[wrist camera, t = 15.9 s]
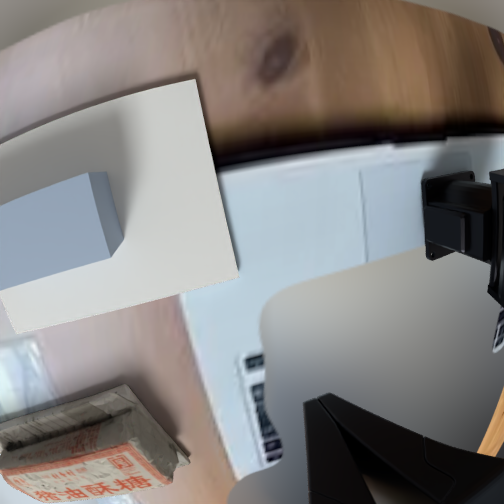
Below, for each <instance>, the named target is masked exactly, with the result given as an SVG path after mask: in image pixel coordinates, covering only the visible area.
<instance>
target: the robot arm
mask: <svg viewBox="0 0 504 504" xmlns="http://www.w3.org/2000/svg"><path fill="white" fill-rule="evenodd" d="M489 176H490V180H491V184H486V183H479V182H475V175H474V172H473V171H463V172H458V173H453V174H448V175H442V176H437V177H432V178H427V179H424V180H423V181H422V196H423V208H424V222H425V244H426V257H427V259H429V260H432V261H433V260H436V259H438V258H441V257H443V256H446V255H448V254H450V253H453V252H455V251H456V252H459V253H462V254H464V255H467V256H470V257H472V258H475V259H477V260H480V261H483V262H485V263H488V264H490V265H491V271H490V282H489V285H488V291H487V292H488V293H489V294H490V295H491V296H492V297H493V298H494V299H495V300H496V301H497V302H498V303H499V304H500V305H501V306H502V307H503V308H504V169H501V170H496V171H491V172H489ZM427 184H428V187H427ZM431 254H432V255H431ZM303 412H304V425H305V441H306V455H307V473H308V491H309V493H308V496H309V504H504V459H503V458H498V457H493V456H488V455H484V454H479V453H475V452H470V451H466V450H462V449H459V448H455V447H452V446H449V445H446V444H443V443H441V442H438V441H435V440H432V439H430V438H428V437H424V438H423V435H420V434H418V433H416V432H413V431H411V430H409V429H407V428H404V427H402V426H400V425H397V424H395V423H393V422H391V421H389V420H386V419H384V418H382V417H380V416H378V415H375V414H373V413H371V412H369V411H367V410H365V409H363V408H361V407H358V406H357V405H355V404H352V403H350V402H348V401H346V400H344V399H342V398H340V397H338V396H336V395H334V394H332V393H326V394H324V395H321V396H318V397H317V398H313V399H310V400H307V401H305V402H303Z"/></svg>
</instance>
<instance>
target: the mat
mask: <svg viewBox="0 0 504 504" xmlns="http://www.w3.org/2000/svg"><path fill="white" fill-rule="evenodd" d="M88 172H107V175H108V179H109V184H110V188H111V192H112V196H113V200H114V204H115V208H116V212H117V215H118V219H119V223H120V226H121V230H122V233H123V237H124V240H123V242H122V243H121V244H120V246H119V247H118V249H117V250H116V251H115V253H114V254H113V256H112V257H111V258H109V259H105V260H102V261H98V262H95V263H91V264H88V265H84V266H81V267H77V268H74V269H70V270H67V271H63V272H60V273H57V274H53V275H50V276H47V277H43V278H40V279H37V280H33V281H30V282H27V283H23V284H20V285H17V286H14V287H10V288H7V289H4V290H1V291H0V298H1V300H2V303H3V305H4V308H5V310H6V312H7V315H8V317H9V319H10V321H11V324H12V326H13V328H14V330H15V332H16V334H20V333H25V332H29V331H33V330H37V329H41V328H46V327H50V326H54V325H58V324H62V323H66V322H70V321H74V320H78V319H83V318H87V317H91V316H95V315H99V314H103V313H106V312H110V311H114V310H118V309H122V308H126V307H130V306H134V305H138V304H142V303H146V302H149V301H153V300H157V299H161V298H165V297H168V296H172V295H176V294H180V293H184V292H187V291H191V290H195V289H199V288H202V287H206V286H210V285H213V284H217V283H221V282H224V281H228V280H232V279H235V278H239V273H238V269H237V265H236V261H235V256H234V252H233V248H232V244H231V239H230V235H229V231H228V226H227V222H226V217H225V213H224V209H223V204H222V200H221V195H220V191H219V186H218V182H217V177H216V173H215V168H214V164H213V159H212V155H211V150H210V146H209V141H208V137H207V132H206V127H205V123H204V118H203V113H202V109H201V104H200V99H199V94H198V90H197V85H196V80H195V79H193V80H188V81H183V82H179V83H174V84H170V85H165V86H161V87H157V88H153V89H149V90H145V91H142V92H138V93H134V94H131V95H127V96H124V97H120V98H117V99H114V100H111V101H107V102H104V103H101V104H98V105H95V106H92V107H89V108H86V109H83V110H81V111H78V112H75V113H72V114H70V115H67V116H64V117H62V118H59V119H57V120H54V121H52V122H49V123H47V124H44V125H42V126H39V127H37V128H35V129H32V130H30V131H28V132H26V133H23V134H21V135H19V136H17V137H15V138H13V139H11V140H9V141H6V142H4V143H2V144H0V206H1V205H3V204H6V203H8V202H10V201H13V200H15V199H18V198H20V197H22V196H25V195H27V194H30V193H33V192H35V191H38V190H40V189H43V188H45V187H48V186H51V185H54V184H56V183H59V182H62V181H65V180H67V179H70V178H73V177H76V176H79V175H82V174H85V173H88Z"/></svg>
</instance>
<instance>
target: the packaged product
mask: <svg viewBox="0 0 504 504" xmlns="http://www.w3.org/2000/svg"><path fill="white" fill-rule="evenodd" d="M0 454H1V455H0V474H1V475H2V476H3V478H4V480H5V481H6V482H7V483H8V484H9V485H10V486H11V487H13V488H15V489H17V490H19V491H21V492H23V493H25V494H27V495H29V496H31V497H32V498H34V499H37V500H39V501H42V502H46V503H54V502H65V501H78V500H86V499H87V500H88V499H95V498H103V497H108V496H116V495H122V494H128V493H132V492H137V491H144V490H147V489H153V488H156V487H162V486H166V485H168V484H170V483H172V482H173V472H174V471H175V469H176V468H178V467H181V466H185V465H188V464H190V460H189V458H188V457H187V456H186V455H185V453H184V452H183V451H182V450H181V449H180V448H179V447H178V446H177V444H176V443H175V442H174V441H173V440H172V439H171V438H170V436H169V435H168V434H167V433H166V432H165V431H164V429H163V428H162V427H161V426H160V425H159V424H158V423H157V422H156V421H155V420H154V418H153V417H152V416H151V414H150V413H149V412H148V411H147V409H146V408H145V407H144V406H143V404H142V403H141V402H140V401H139V399H138V398H137V397H136V396H135V394H134V393H133V392H132V391H131V389H130V388H129V387H128V385H126V384H123V385H120V386H118V387H115V388H112V389H110V390H107V391H104V392H101V393H99V394H96V395H93V396H90V397H86V398H83V399H79V400H76V401H72V402H68V403H65V404H62V405H59V406H55V407H52V408H49V409H45V410H42V411H38V412H34V413H31V414H28V415H24V416H21V417H17V418H14V419H12V420H9V421H6V422H2V423H0Z"/></svg>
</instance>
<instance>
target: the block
mask: <svg viewBox="0 0 504 504" xmlns="http://www.w3.org/2000/svg"><path fill="white" fill-rule="evenodd" d="M123 240H124V237H123V233H122V230H121V226H120V223H119V219H118V215H117V212H116V208H115V204H114V200H113V196H112V192H111V188H110V184H109V179H108V175H107V172H88V173H85V174H82V175H79V176H76V177H73V178H70V179H67V180H65V181H62V182H59V183H56V184H54V185H51V186H48V187H45V188H43V189H40V190H38V191H35V192H33V193H30V194H27V195H25V196H22V197H20V198H18V199H15V200H13V201H10V202H8V203H6V204H3V205H1V206H0V291H1V290H4V289H7V288H10V287H14V286H17V285H20V284H23V283H27V282H30V281H33V280H37V279H40V278H43V277H47V276H50V275H53V274H57V273H60V272H63V271H67V270H70V269H74V268H77V267H81V266H84V265H88V264H91V263H95V262H98V261H102V260H105V259H109V258H111V257H112V256H113V254H114V253H115V251H116V250H117V249H118V247H119V246H120V244H121V243H122V242H123Z"/></svg>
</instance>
